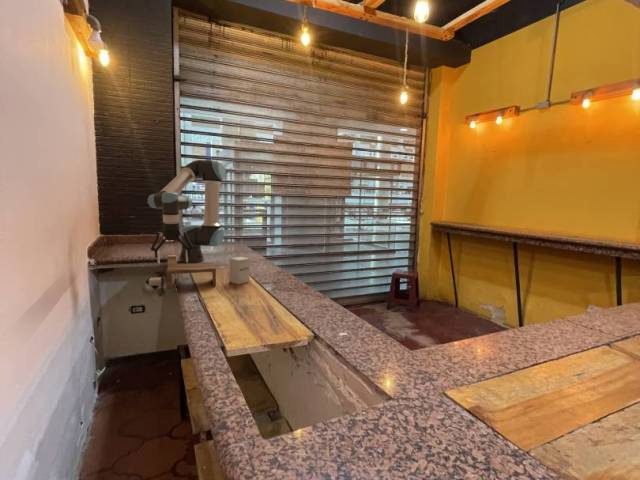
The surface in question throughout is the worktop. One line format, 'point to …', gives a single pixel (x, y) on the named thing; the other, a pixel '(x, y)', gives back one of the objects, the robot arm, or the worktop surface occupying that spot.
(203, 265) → the brown wooden stand
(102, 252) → the worktop surface
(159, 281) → the brown square block
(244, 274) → the grey canister
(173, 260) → the tan wood-grain block
